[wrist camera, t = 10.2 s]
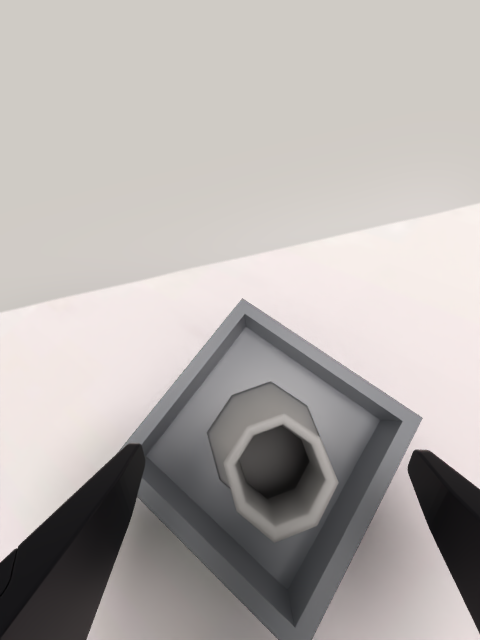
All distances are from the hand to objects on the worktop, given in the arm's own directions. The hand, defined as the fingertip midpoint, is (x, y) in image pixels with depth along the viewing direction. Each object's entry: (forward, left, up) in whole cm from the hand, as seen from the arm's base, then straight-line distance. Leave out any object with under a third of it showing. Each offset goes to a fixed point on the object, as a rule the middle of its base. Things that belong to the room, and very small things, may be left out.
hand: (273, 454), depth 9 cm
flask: (0, 0, -9) cm, 9 cm away
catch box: (0, 0, -10) cm, 10 cm away
